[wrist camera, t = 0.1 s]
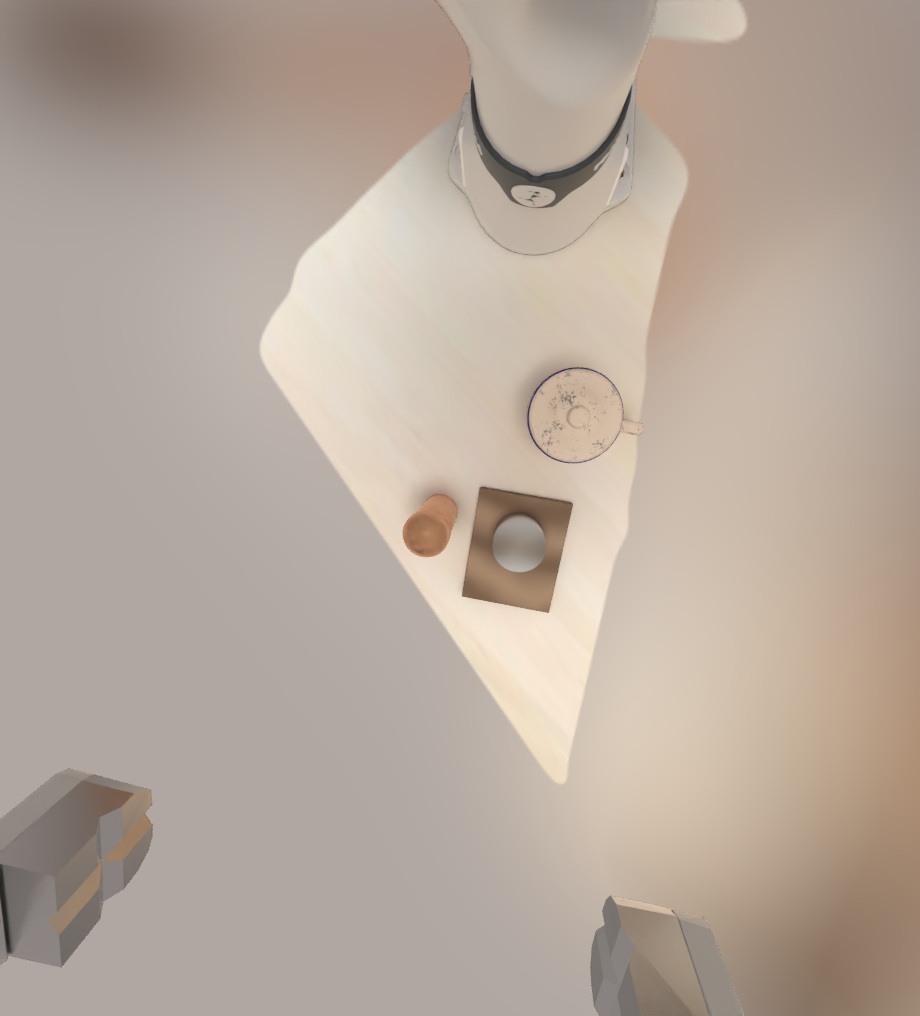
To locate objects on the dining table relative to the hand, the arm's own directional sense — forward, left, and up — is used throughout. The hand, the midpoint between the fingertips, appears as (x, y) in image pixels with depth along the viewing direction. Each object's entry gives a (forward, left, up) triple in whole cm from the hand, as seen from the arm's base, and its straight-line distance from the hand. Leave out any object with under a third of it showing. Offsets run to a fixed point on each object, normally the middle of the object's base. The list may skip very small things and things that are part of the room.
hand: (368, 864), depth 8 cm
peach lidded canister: (+6, -5, -48) cm, 49 cm away
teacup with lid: (-8, +9, -48) cm, 50 cm away
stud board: (+9, +5, -48) cm, 49 cm away
